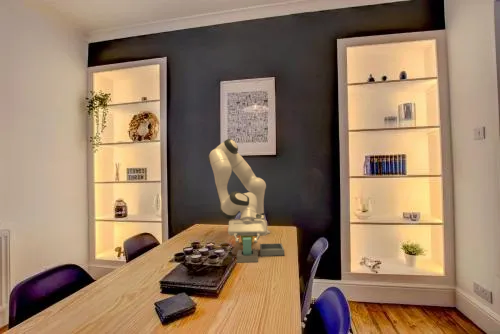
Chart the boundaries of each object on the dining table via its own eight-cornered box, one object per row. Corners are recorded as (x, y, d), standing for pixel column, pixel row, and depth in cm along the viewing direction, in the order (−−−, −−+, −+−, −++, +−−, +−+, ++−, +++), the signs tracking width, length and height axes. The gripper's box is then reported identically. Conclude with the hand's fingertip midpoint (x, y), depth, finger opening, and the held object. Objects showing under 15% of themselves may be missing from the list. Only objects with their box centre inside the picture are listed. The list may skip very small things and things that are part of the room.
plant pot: (248, 246, 147) (248, 231, 147) (235, 244, 153) (235, 229, 153) (257, 243, 154) (257, 228, 154) (245, 240, 160) (245, 226, 160)
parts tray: (260, 249, 141) (259, 243, 141) (281, 248, 141) (281, 243, 141) (260, 256, 129) (260, 250, 129) (284, 255, 129) (284, 249, 129)
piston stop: (243, 257, 128) (243, 237, 129) (251, 257, 128) (251, 237, 129) (243, 260, 124) (242, 239, 125) (251, 260, 124) (251, 239, 125)
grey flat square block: (238, 255, 131) (237, 249, 132) (257, 255, 131) (257, 249, 131) (236, 262, 121) (236, 256, 122) (257, 262, 121) (257, 255, 121)
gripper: (228, 215, 137) (224, 238, 127) (266, 215, 135) (266, 238, 125) (230, 222, 141) (226, 245, 131) (267, 222, 139) (266, 245, 129)
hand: (246, 242), depth 128 cm, fingers open, 8 cm apart
